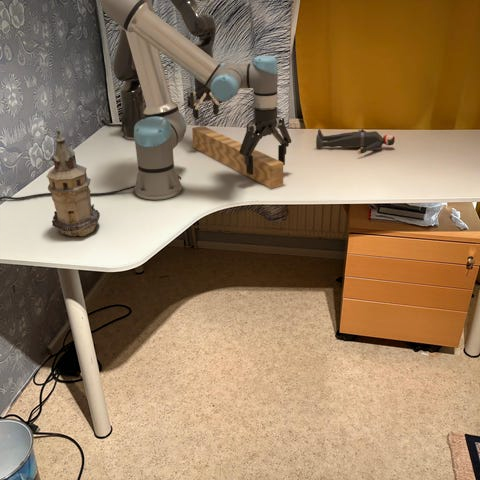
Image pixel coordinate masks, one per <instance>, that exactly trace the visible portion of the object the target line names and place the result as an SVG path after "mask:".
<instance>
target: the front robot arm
mask: <svg viewBox="0 0 480 480" xmlns="http://www.w3.org/2000/svg"><path fill="white" fill-rule="evenodd" d="M99 3H100V6H101V8H102V10H103V13H105V15H107V17H109V18H110V19H111V20H112V21H113V22H114V23H116V24H117V25H118V27H119V28H120V29H121V28H122V29H124V30H125V31H126V35H127V38H128V42H129V45H130V49H131V52H132V56H133V60H134V63H135V67H136V70H137V74H138V77H139V81H140V85H141V88H142V92H143V99H144V103H145V107H144V108H145V110H144V116H145V119H142V120H140V121H138V122H137V123H136V125H135V127H134V139H135V140H134V144H135V154H136V161H137V175H136V179H135V184H134V185H132V186H127V187H124V188H120V189H118V190H113V191H106V192H90V196H105V195H106V196H107V195H112V194H117V193H121V192H124V191H125V192H126V191H128V190H132V189H134V193H135V195H136V196H137V197H138V198H141V199H143V200H148V201H161V200H168V199H171V198H174V197H176V196H178V195H179V194H180V193H181V192H182V183H181V181H182V177H181V176H180V175H179V174H178V173H177V171H176V169H175V161H174V160H175V159H174V158H175V157H174V149H175V148H176V147H177V146H178V144H179V143H180V142H181V141H182V140H183V139H184V138H185V134H186V132H187V121H186V118H185V116H184V114H183V113H182V112H181V111H180V110H179V105H178V103H177V102H175V101H173V100H172V96H171V93H170V88H169V85H168V81H167V76H166V73H165V69H164V66H163V65H164V64H163V62H162V57H161V54H163V55H164V56H165V57H167V58H168V59H169V60H171V61H172V62H174V63H175V64H176V65H177V66H179V67H180V68H182V69H183V70H184V71H186V72H187V73H188V74H190V76H192V77H193V78H194V77H195V78H196V79H197V80H199V81H200V82H201V83H203V84H204V85H205V86H207V87H208V88H209V89H211V92H212V95H213V96H214V98H215V99H217V100H219V101H222V103H223V102H224V103H225V102H229V101H231V100H232V99H234V98H235V97H236V96H237V95H238V93H239V91H240V90H241V89H253V106H254V108H253V118H254V124H246V131H245V134H244V136H243V137H244V138H243V140H242V142H241V143H242V145H241V148H240V151H239V154H241V155H243V156H245V164H246V166H247V173H248V174H250V175H253V156H252V155H251V154H252V152H253V150H254V149H255V150H256V147H257V145H258V144H259V142H260V140H261V139H263V137H266V136H273V137H274V138H275V140H277V142H278V143H279V144H278V146H277V150H278V151H277V152H278V153H277V157H278V159H277V160H279V161H281V162H283V163H284V164H283V166H285V165H286V155H287V148H288V147H289V146H290V144H291V143H292V139H291V136H290V134H289V132H288V129H287V127H286V124H285V118H283V117H280V116H278V107H277V106H278V85H279V84H278V83H279V82H278V81H279V80H278V78H279V76H278V75H279V71H278V59H277V58H276V57H275V56H273V55H258V56H255V57H254V58H253V60H252V62H250V63H237V62H236V63H234V62H233V63H231V62H225V63H220V62H218V61H217V60H216V59H215V58H214V57H213V58H212V57H210V56H209V55H208V54H206V53H205V52H204V51H203V50H201V49H200V48H199V47H197V46H196V45H195V44H196V43H194V42H192V41H191V40H190V39H189V38H187V37H186V36H185V35H184V34H182V33H181V32H179V31H178V30H177V29H176V28H174V27H173V26H172V25H170V24H169V23H168V22H166V21H164V19H162V18H161V17H160V16H158V15H157V14H156V13H155V10H154V5H155V0H99ZM160 53H161V54H160ZM276 127H278V129H279V130H278V129H277V128H276ZM248 151H249V152H248ZM43 196H44V197H45V196H52V193H51V192H44V193H37V194H36V193H35V194H31V195H26V196H25V195H24V196H17V197H15V196H8V195H7V196H6V195H4V196H0V201H1V200H4V199H6V200H15V201H17V200H18V201H19V200H25V199H30V198H37V197H43ZM11 287H12V291H13V293H14V294H15V293H16V292H17V290H16V287H15V284H11Z"/></svg>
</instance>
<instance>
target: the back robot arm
mask: <svg viewBox="0 0 480 480" xmlns="http://www.w3.org/2000/svg"><path fill="white" fill-rule="evenodd" d="M169 1H170V2H171V4H172V5H173V6H174V8H175V9H176V11H177V12H178V13H179V14H180V16H181V19H182V21H183V23H184V26H185V27H186V28H185V29H186V30H187V31H188V32H189V34H191V35H192V36H193V37H195V38H198V41H197V42H196V43H194V44H195V45H196V46H197V47H199V48H200V49H201V50H203V51H204V52H205V53H206V54H208V55H209V56H210V57H212V58H213V59H214V44H215V38H216V34H217V23H216V20H215V18H214V16H212V14H210V13H202V14H199V13H198V12H197V9H198V3H197V1H196V0H169ZM112 73H113V75H114V77H115V78H116V79H117V81H120V82H124V83H123V85H122V86H121V88H120V90H119V96H120V105H121V112H122V113H121V114H120V119H121V123H108V122H107V121H106V120H105V119H104V118H103V119H101V121H100V122H101V123H104V124H105V125H106V126H108V127H121V131H122V135H123V138H125V139H127V140H131V141H135V139H134V127H135V125H136V123H137V122H138V121H140V120H142V119H145V116H144V110H145V108H146V107H145V99H144V95H143V92H142V88H141V85H140V81H139V77H138V74H137V70H136V67H135V63H134V60H133V56H132V52H131V49H130V45H129V42H128V38H127V35H126V31H125V30H124V29H122V28H120V29H119V35H118V41H117V46H116V50H115V54H114V58H113V61H112ZM193 81H194V91H190V90H188V91H187V94H186V95H187V108H189V109H191V110H192V117H193V118H194V119H195V120H199V118H200V114H199V107H200V105H202V103H204V102H212V114H213V115H215V116H218V115H219V112H220V109H219V108H220V107H219V105H220V104H222V103H223V102H222V101H219V100H217V99H215V98H214V96H213V95H212V92H211V89H209V88H208V87H207V86H205V85H204V84H203V83H201V82H200V81H199V80H197V79H196V78H195V77H193Z"/></svg>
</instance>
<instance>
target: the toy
mask: <svg viewBox="0 0 480 480" xmlns="http://www.w3.org/2000/svg"><path fill="white" fill-rule="evenodd" d="M395 139H396V137H395V136H394V135H392V134H385V135H384V136H382V135H381V134H380V133H379V132H378V131H375V130H374V131H373V130H372V131H366V130H364V129H363V128H358V130H357V131H351V132H343V133H337V134H330V135H324V134H323V133H322V130H321V129H320V128H318V129H317V134H316V139H315V141H316V142H315V144H316V145H315V146H316V148H317V149H321V148H325V147H326V148H336V147H340V148H354V149H355V148H359V147H360V148H359V149H357V151H356V153H357V154H358V155H361V154H364V153H366V152H368V151H372V150H381V149H382V146H383V145H385V146H392V145H394V143H395V142H396V141H395Z"/></svg>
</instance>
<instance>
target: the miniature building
mask: <svg viewBox="0 0 480 480" xmlns="http://www.w3.org/2000/svg"><path fill="white" fill-rule="evenodd" d="M56 134H57V136H56V138H55V140H54V141H55V142H56V147H55V154H54V156H52V157H51V161H52V162H53V165H54V167H53V168H51V169H50V170H49V171H48V173H47V174H46V178H47V179H48V182H49V184H48V186H47V190H48V191H49V193H52V195H51V200H52V201H53V205H54V209H55V211H53V217H52V220H51V223H52V225H51V227H54V228H56V229H58V230H59V231H60V234H63V235H64V234H65V235H66V236H69V237H77V236H80V237H83V236H87V235H88V234H90V233H93V232H94V231H95V229H96V226H97V225H98V223H99V220H100V216H101V213H100V212H99V210H98V209H96V208H95V204H92V201H91V200H92V199H91V198H92V197H91V195H90V193H92V191H91V188H90V184H91V178H89V177H88V174H87V167H85V166H84V165H83V166H82V165H80V164H77V160H76V154H75V151H74V150H70V149H69V147H68V145H67V143H66V138H65V137H64V136H63V135H61V130H60V129H56Z"/></svg>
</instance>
